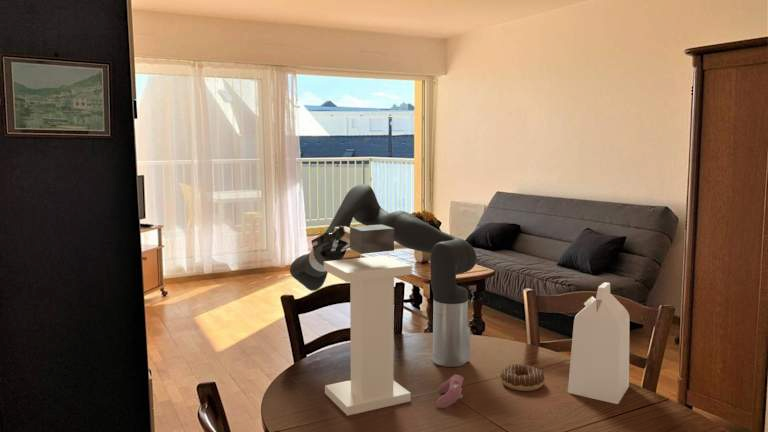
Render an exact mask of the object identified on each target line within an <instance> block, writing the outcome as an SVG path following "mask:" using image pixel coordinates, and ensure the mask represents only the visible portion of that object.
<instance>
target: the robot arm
mask: <svg viewBox="0 0 768 432" xmlns="http://www.w3.org/2000/svg"><path fill="white" fill-rule="evenodd" d="M353 219H354V220H355V221H356V222H357V223H359V224H362V225H363V226H368V225H381V224H382V225H385V226H388V227H391V228H394V243H396V244H398V245H400V246H402V247H404V248H406V249H409V250H413V251H417V252H421V253H428V254H429V255H430V256H429V268H430V286H431V292H432V294H433V295H432V296H433V300H432V301H433V303H432V304H433V307H432V308H433V309H432V310H433V312H432V313H433V314H432V317H433V319H432V362H433V363H434V364H436V365H438V366H442V367H449V368H453V367H461V366H464V365H466V364H467V363H468V362H470V361H471V360H470V359H471V357H470V356H471V327H470V326H468V315H469V314H468V312H469V311H468V308H469V305H468V302H469V292H468V289H466V288H465V287H463V286H461V285H458V283H457V275H460V274H464V273H467V272H470V271H471V270H472V269H473V268H474V267H475V265H476V264H477V253H476V251H475V248H474V247H473V246H472V245H471V244H470V243H469V242H468V241H467V240H465V239H464V238H460V237H458V236H455V235H451V234H449V233H447V232H444V231H442V230H440V229H438V228H437V227H435V226H434V225H431V224H429V223H427V222H425V221H424V220H421V219H420V218H418V217H417V216H415V215H413V214H411V213H409V212H406V211H403V210H397V211H392V212H388V211H386V210H385V209H383V208H382V207H381V205H380V204H379V202H378V199H377V195H376V194H375V191H374V190H373V188H372V186H370V185H369V184H366V183H365V184H363V183H362V184H357V185H355V186H354V187H352V188H351V189H350V190H349V191H348V192H347V194H346V195H345V197H344V198H343V200H342V202H341V203H340V206H339V208H338V209H337V211H336V213H335V214H334V216H333V219H332V220H331V222H330V224H329V225H328V227H327V229H326V230H325V232H324V233H323V234H321V235H319V236H317V237H316V238H313V239H312V240H311V241H310V242H311V247H312V249H311V250H310V252H309V253H307V254H302V255H300V256H298V257H297V258H296V259H294V261H292V263H291V264H290V267H289V273H290V275H291V277H293V279H295V280H296V281H297V282H298V283H299V284H301V285H302V286H304V287H305V288H306V289H308V290H309V291H312V292H314V291H318V290H319V289H321V288H322V286H323V285H324V283H325V281H326V279H327V277H328V273H329V272H327V271H325V270H324V261H334V260H343V258H344V256H345V255H346V252H347V249H350V243H347V242H345V241H342V240H340V239H341V238H342V237H343V236H344V234H345V230H344V226H346V227H349V228H350V227H351V223H352V221H353ZM354 226H358V225H357V224H354V225H352V227H354ZM334 227H339V228H338V229H337V230H336V231H334Z"/></svg>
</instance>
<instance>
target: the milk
mask: <svg viewBox="0 0 768 432" xmlns="http://www.w3.org/2000/svg"><path fill="white" fill-rule="evenodd" d="M595 296H596V297H594V296H590V298H588V299H587V300H586V301H584V303H583V305H584V306H585V307H583V308H582V309H581V310H580V311H579V312H578V313H577V314H575V316H574V319H573V328H572V336H571V337H572V340H571V348H570V349H571V351H570V352H571V353H570V360H569V364H570V365H569V371H568V373H569V374H568V382H567V383H568V385H567V394H572V395H576V396H579V397H585V398H589V399H593V400H598V401H603V402H607V403H610V404H611V403H612V404H615V405H618V404H620V402H621V400H622V398H623V397H624V395H626V394H625V393H626V392H627V390H628V389H629V387H630V314H629V312H628V310H627V309H626V307H625V306H624V305H623V304H621V302H620V301H619V300H618V299H617V298H616V297H615V296H614V295H613V294H612V293H611V283H610V282H605V281H604V282H603V283H601V284H600V285H598V287H597V292H596V295H595Z"/></svg>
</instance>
